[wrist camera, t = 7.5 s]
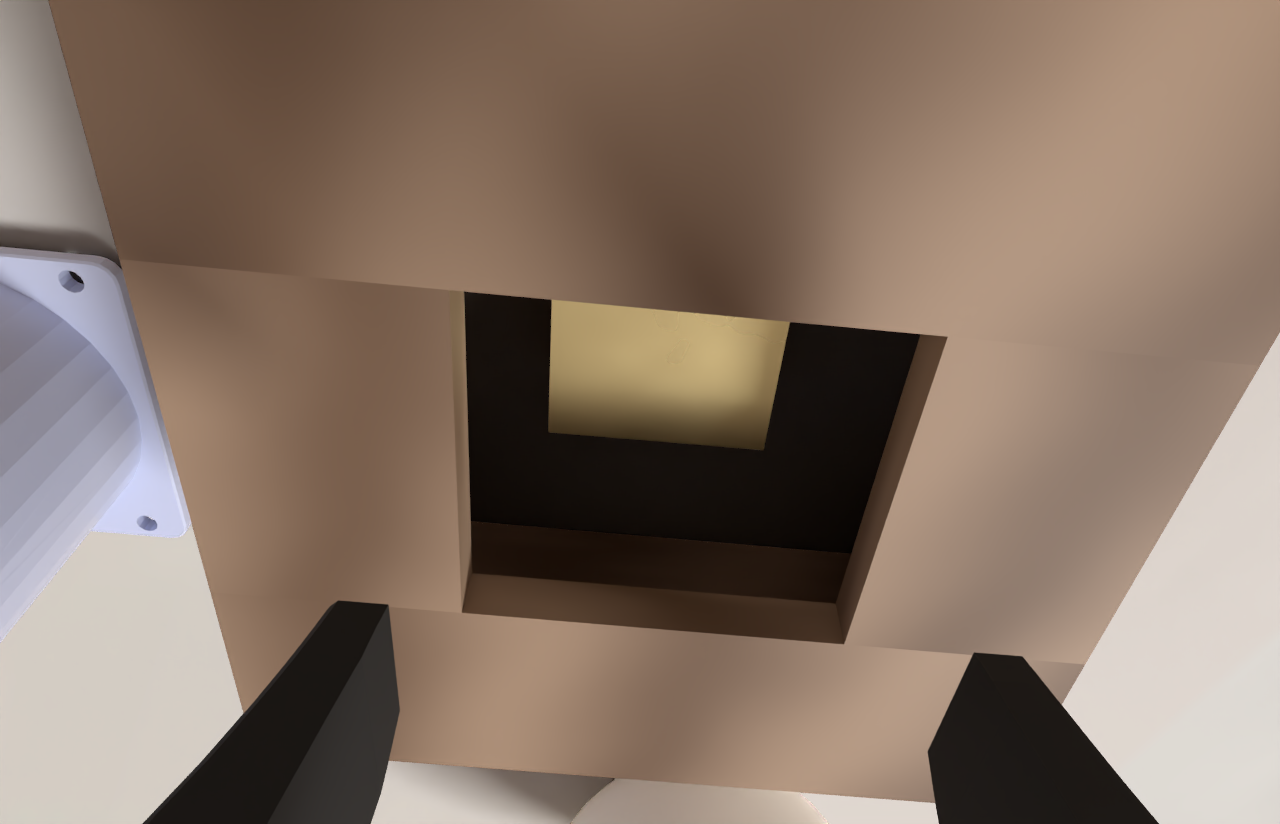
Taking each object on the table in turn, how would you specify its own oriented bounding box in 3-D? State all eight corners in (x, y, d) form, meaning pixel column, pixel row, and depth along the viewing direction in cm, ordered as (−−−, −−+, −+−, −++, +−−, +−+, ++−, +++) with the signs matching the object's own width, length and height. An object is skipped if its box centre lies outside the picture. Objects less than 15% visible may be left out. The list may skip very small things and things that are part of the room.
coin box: (348, 537, 24) (253, 750, 18) (250, -166, 14) (6, -155, 9) (926, 587, 24) (1001, 807, 19) (1184, -65, 15) (1472, 2, 10)
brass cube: (562, 357, 20) (548, 432, 18) (569, 171, 18) (553, 228, 15) (752, 373, 21) (763, 449, 18) (785, 190, 18) (804, 250, 15)
